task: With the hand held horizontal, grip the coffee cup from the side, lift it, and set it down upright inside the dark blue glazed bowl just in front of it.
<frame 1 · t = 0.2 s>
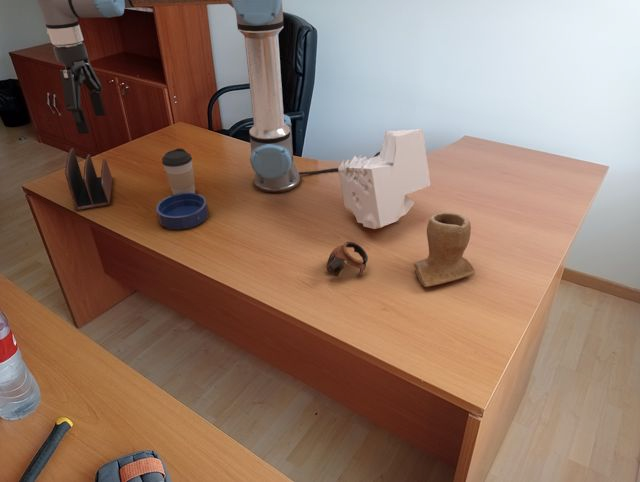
hand: (92, 124, 136), 28 cm above the table, tool pointing down, fingers open, 13 cm apart
coffee cup: (184, 196, 158), on the table
letter holder: (95, 194, 161), on the table
stone cup: (439, 272, 122), on the table
bowl: (184, 217, 147), on the table
brown curved piece: (343, 272, 123), on the table
jagged white plaster chunk: (380, 217, 144), on the table
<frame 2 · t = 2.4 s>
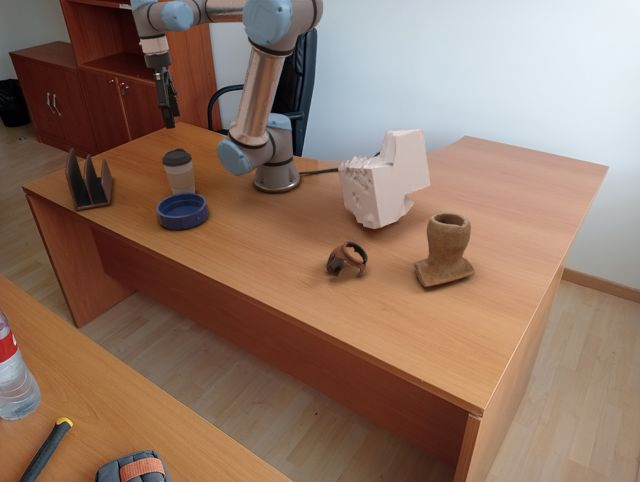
hand: (173, 122, 157), 20 cm above the table, tool pointing down, fingers open, 13 cm apart
nothing on the table moved.
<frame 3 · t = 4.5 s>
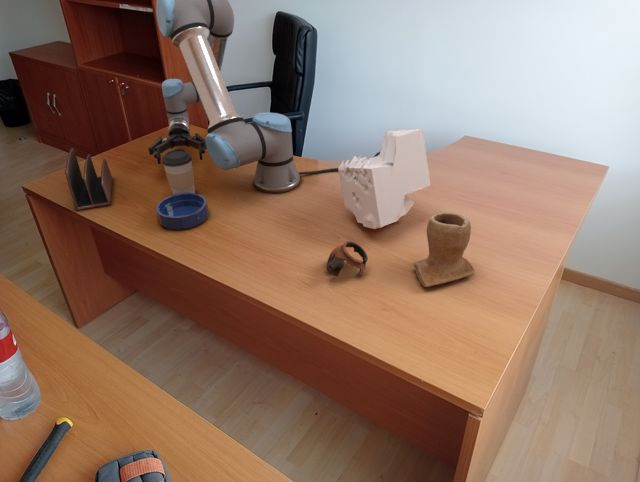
hand: (179, 158, 161), 9 cm above the table, tool horizontal, fingers open, 13 cm apart
nothing on the table moved.
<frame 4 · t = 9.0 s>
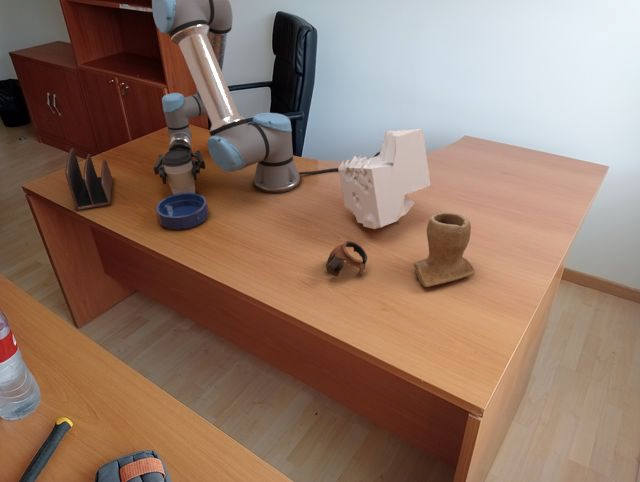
hand: (179, 178, 149), 9 cm above the table, tool horizontal, fingers closed on coffee cup, 9 cm apart
coffee cup: (184, 196, 158), on the table, touching gripper
everything else where it was.
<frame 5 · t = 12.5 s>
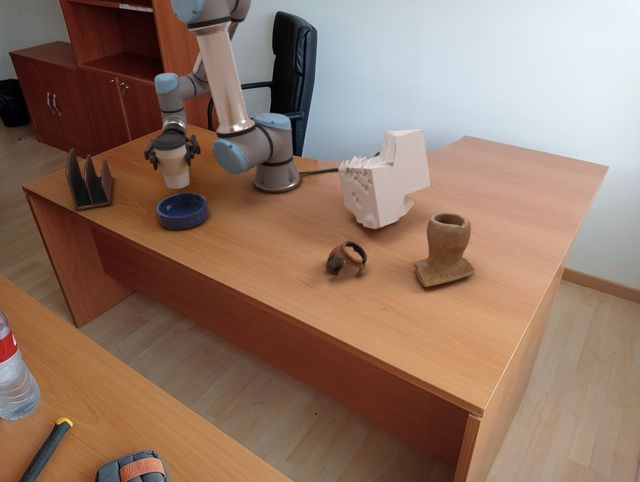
hand: (171, 163, 136), 18 cm above the table, tool horizontal, fingers closed on coffee cup, 9 cm apart
coffee cup: (178, 183, 145), point 9 cm above the table, touching gripper
everything else where it was.
when the fingers open (9 cm above the table, at t = 16.0 s): coffee cup stays where it is, resting on bowl.
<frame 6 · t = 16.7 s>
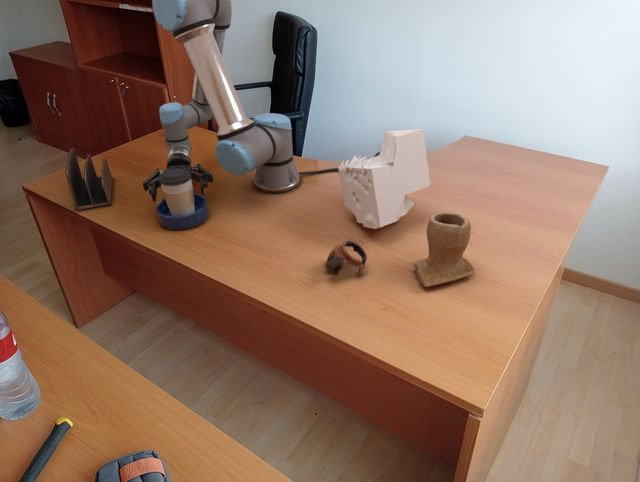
hand: (178, 194, 138), 10 cm above the table, tool horizontal, fingers open, 13 cm apart
coffee cup: (183, 216, 146), resting on bowl
everything else where it was.
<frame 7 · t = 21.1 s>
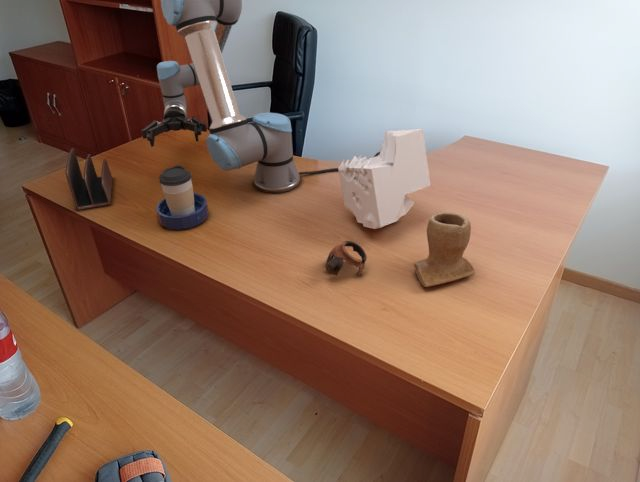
hand: (174, 139, 150), 18 cm above the table, tool horizontal, fingers open, 13 cm apart
nothing on the table moved.
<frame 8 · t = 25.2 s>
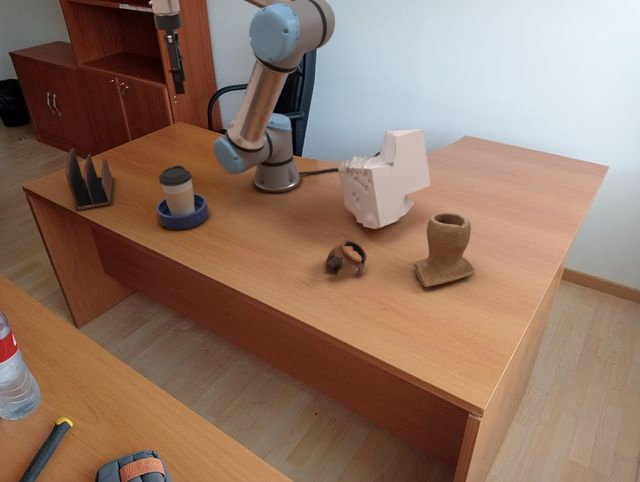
hand: (180, 87, 152), 31 cm above the table, tool pointing down, fingers open, 13 cm apart
nothing on the table moved.
at the end: coffee cup 0.1 cm off-centre in the bowl, point 0.4 cm above the bowl's base; coffee cup tilted 0°; the gripper is holding nothing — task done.
